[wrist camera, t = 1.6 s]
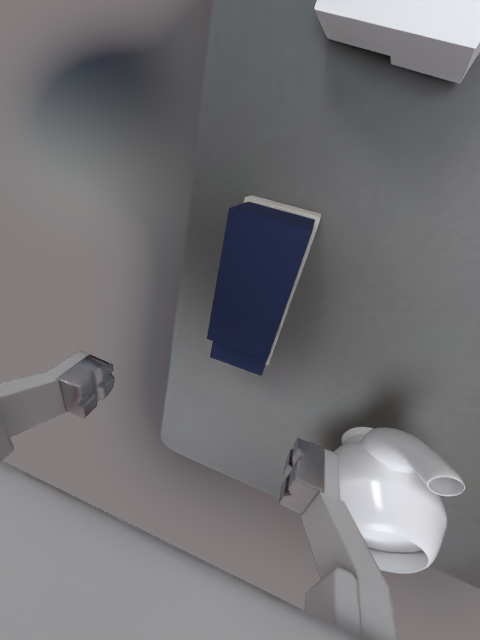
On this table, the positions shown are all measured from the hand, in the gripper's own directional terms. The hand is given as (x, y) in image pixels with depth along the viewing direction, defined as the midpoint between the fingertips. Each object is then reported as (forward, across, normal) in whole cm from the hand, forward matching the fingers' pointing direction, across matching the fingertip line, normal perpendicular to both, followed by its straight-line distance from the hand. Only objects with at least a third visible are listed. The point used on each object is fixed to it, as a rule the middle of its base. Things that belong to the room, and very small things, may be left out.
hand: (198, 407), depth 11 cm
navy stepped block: (+13, 0, 0) cm, 13 cm away
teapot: (+14, -14, +13) cm, 24 cm away
